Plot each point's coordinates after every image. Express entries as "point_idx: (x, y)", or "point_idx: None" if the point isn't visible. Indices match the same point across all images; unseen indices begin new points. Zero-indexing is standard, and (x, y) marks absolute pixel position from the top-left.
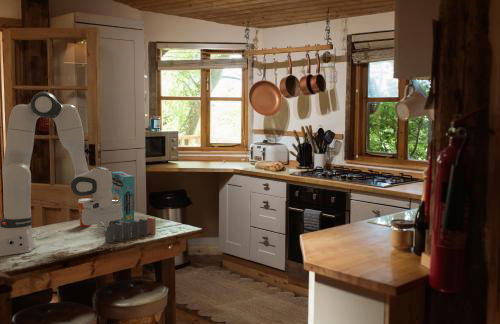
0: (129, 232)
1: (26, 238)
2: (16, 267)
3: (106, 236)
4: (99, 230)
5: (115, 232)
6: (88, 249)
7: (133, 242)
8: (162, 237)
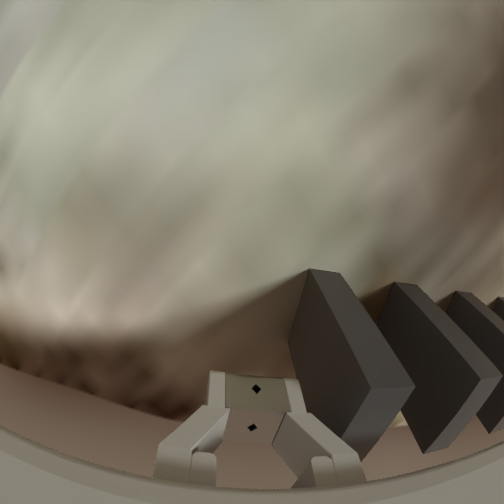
0: None
1: None
2: None
3: (319, 314)
4: (209, 378)
5: (420, 340)
6: (60, 322)
7: None
8: None
